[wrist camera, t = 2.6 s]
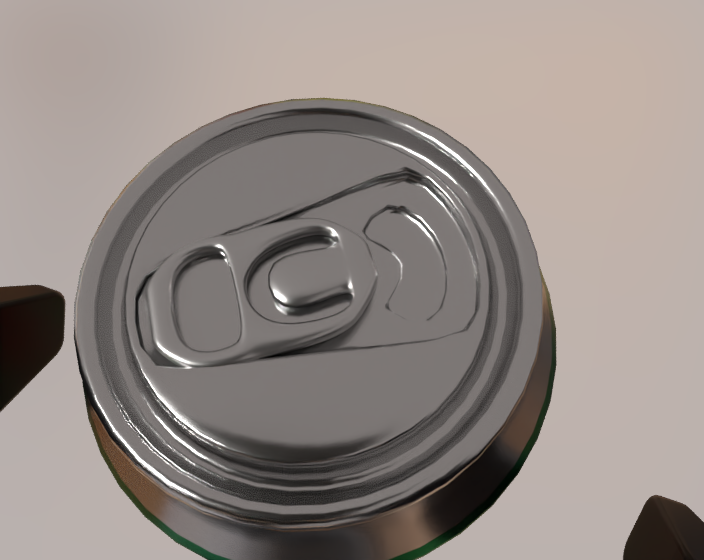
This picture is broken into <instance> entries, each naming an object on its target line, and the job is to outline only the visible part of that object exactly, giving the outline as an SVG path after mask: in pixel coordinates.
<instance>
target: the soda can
mask: <svg viewBox="0 0 704 560" xmlns="http://www.w3.org/2000/svg"><path fill="white" fill-rule="evenodd" d="M74 306H75V307H74V340H75V346H76V353H77V359H78V365H79V371H80V374H81V377H82V380H83V388H84V395H85V401H86V407H87V413H88V419H89V422H90V424H91V427H92V430H93V433H94V436H95V439H96V442H97V444H98V447H99V450H100V453H101V455H102V457H103V458H104V460H105V462H106V464H107V465H108V467H109V469H110V471H111V472H112V474H113V476H114V478H115V479H116V481H117V483H118V485H119V486H120V488H121V489H122V490H123V491H124V492H125V494H126V495H127V496H128V497H129V498H130V500H131V501H132V502H133V503H134V504H135V506H136V507H137V508H138V509H139V510H140V511H141V513H142V514H143V515H144V516H145V517H146V518H147V519H148V520H150V521H151V522H152V523H153V524H155V525H156V526H157V527H158V528H159V529H161V530H162V531H163V532H164V533H165V534H167V535H168V536H169V537H170V538H171V539H173V540H174V541H175V542H176V543H178V544H180V545H182V546H184V547H185V548H187V549H189V550H191V551H193V552H195V553H196V554H198V555H200V556H202V557H204V558H205V559H207V560H416V559H419V558H421V557H423V556H425V555H426V554H428V553H430V552H431V551H433V550H435V549H436V548H438V547H440V546H441V545H443V544H444V543H446V542H448V541H449V540H451V539H453V538H454V537H456V536H458V535H459V534H461V533H462V532H463V531H464V530H465V529H466V528H468V527H469V526H470V525H471V524H472V523H473V522H474V521H475V520H477V519H478V518H479V517H480V516H481V515H482V514H484V513H485V512H486V511H487V510H488V509H489V508H490V507H491V506H492V505H493V504H494V503H495V502H496V500H497V499H498V498H499V497H500V496H501V494H502V493H503V492H504V491H505V489H506V488H507V487H508V486H509V484H510V483H511V482H512V481H513V480H514V478H515V477H516V476H517V475H518V473H519V471H520V470H521V468H522V466H523V464H524V462H525V460H526V459H527V457H528V455H529V453H530V451H531V450H532V448H533V446H534V444H535V442H536V441H537V439H538V436H539V433H540V430H541V427H542V425H543V422H544V419H545V416H546V413H547V410H548V407H549V404H550V401H551V395H552V389H553V382H554V376H555V370H556V327H555V321H554V316H553V311H552V306H551V299H550V294H549V292H548V289H547V286H546V283H545V281H544V278H543V275H542V272H541V269H540V266H539V263H538V257H537V252H536V249H535V246H534V244H533V241H532V238H531V235H530V232H529V230H528V227H527V224H526V221H525V219H524V218H523V216H522V214H521V212H520V211H519V209H518V207H517V205H516V204H515V202H514V200H513V198H512V197H511V195H510V193H509V192H508V190H507V189H506V188H505V187H504V185H503V184H502V183H501V182H500V180H499V179H498V178H497V177H496V175H495V174H494V173H493V172H492V170H491V169H490V168H489V167H488V166H487V165H485V164H484V163H483V162H482V161H481V160H480V159H479V158H478V157H477V156H476V155H475V154H474V153H473V152H472V151H470V150H469V149H468V148H467V147H466V146H464V145H463V144H461V143H460V142H458V141H457V140H455V139H454V138H453V137H451V136H450V135H448V134H447V133H445V132H444V131H442V130H440V129H439V128H437V127H435V126H433V125H430V124H429V123H427V122H424V121H422V120H420V119H418V118H416V117H414V116H412V115H408V114H406V113H403V112H400V111H397V110H394V109H391V108H388V107H385V106H380V105H376V104H371V103H365V102H360V101H355V100H344V99H331V98H311V99H291V100H286V101H280V102H274V103H268V104H262V105H258V106H255V107H252V108H248V109H245V110H242V111H238V112H235V113H232V114H229V115H227V116H224V117H222V118H220V119H218V120H215V121H213V122H211V123H208V124H206V125H204V126H202V127H200V128H198V129H196V130H195V131H193V132H191V133H190V134H188V135H186V136H185V137H183V138H181V139H180V140H178V141H176V142H175V143H173V144H172V145H171V146H169V147H168V148H167V149H166V150H164V151H163V152H162V153H160V154H159V155H158V156H157V157H155V158H154V159H153V160H152V161H150V162H149V163H148V164H147V165H146V166H145V167H144V168H143V169H142V170H141V171H140V172H139V173H138V174H137V175H136V176H135V177H134V178H133V179H132V180H131V181H130V182H129V184H128V185H126V187H125V188H124V189H123V191H122V192H121V193H120V195H119V196H118V198H117V199H116V200H115V202H114V203H113V204H112V205H111V207H110V208H109V210H108V211H107V212H106V214H105V216H104V218H103V220H102V222H101V224H100V225H99V227H98V229H97V231H96V233H95V235H94V237H93V238H92V240H91V243H90V246H89V249H88V252H87V254H86V257H85V260H84V263H83V266H82V268H81V271H80V277H79V282H78V287H77V293H76V299H75V305H74Z"/></svg>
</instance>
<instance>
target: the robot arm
mask: <svg viewBox="0 0 704 560" xmlns="http://www.w3.org/2000/svg"><path fill="white" fill-rule="evenodd" d="M64 324H65V299H64V296H63V295H62V294H61V293H60V292H58V291H55V290H53V289H50V288H47V287H44V286H41V285H26V286H9V287H0V412H1V411H2V410H3V409H4V408H5V407H6V406H7V405H8V404H9V403H10V402H11V401H12V400H13V398H15V397H16V396H17V395H18V394H19V392H20V391H21V390H22V389H23V388H24V387H25V386H26V385H27V384H28V383H29V382H30V381H31V380H32V379H33V378H34V377H35V376H36V375H37V374H38V373H39V372H40V371H41V370H42V369H43V368H44V367H45V366H46V365H47V364H48V363H49V362H50V361H51V360H52V359H53V358H54V357H55V356H56V355H57V353H58V352H59V350H60V349H61V347H62V344H63V341H64ZM623 560H704V522H703V521H702V520H701V519H700V518H699V517H698V516H697V515H696V514H695V513H694V512H693V511H692V510H691V509H690V508H688V507H687V506H686V505H684V504H682V503H680V502H677V501H674V500H671V499H668V498H665V497H662V496H658V495H654V496H651V497H650V498H649V499H648V500H647V501H646V503H645V505H644V507H643V509H642V511H641V513H640V515H639V517H638V519H637V521H636V523H635V525H634V528H633V530H632V531H631V533H630V536H629V538H628V540H627V542H626V545H625V549H624V555H623Z"/></svg>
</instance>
